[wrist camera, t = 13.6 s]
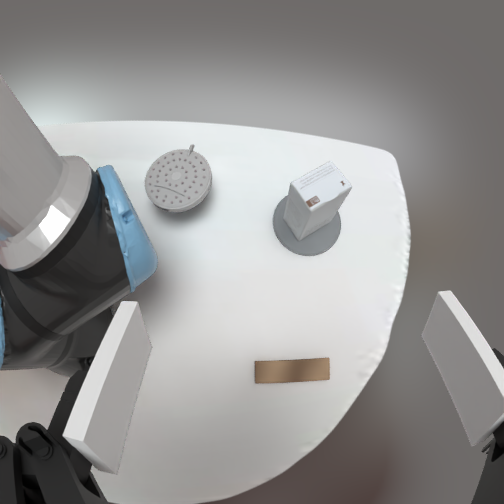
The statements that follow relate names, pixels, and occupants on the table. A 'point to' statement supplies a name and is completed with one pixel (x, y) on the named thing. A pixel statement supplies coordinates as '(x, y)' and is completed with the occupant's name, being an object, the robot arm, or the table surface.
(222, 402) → the table surface
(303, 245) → the coaster
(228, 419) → the table surface
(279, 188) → the table surface
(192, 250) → the table surface
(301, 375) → the walnut board
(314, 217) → the skincare box
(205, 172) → the showerhead
